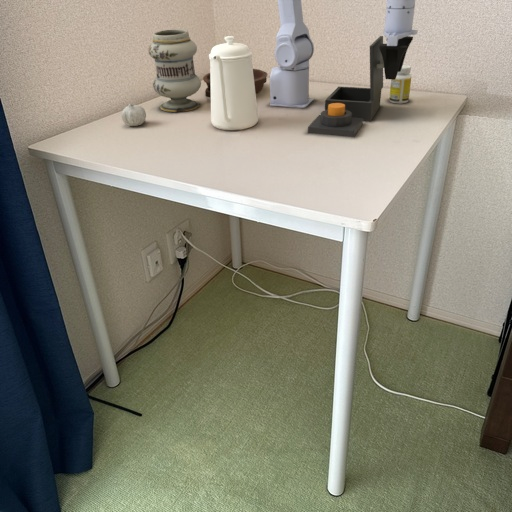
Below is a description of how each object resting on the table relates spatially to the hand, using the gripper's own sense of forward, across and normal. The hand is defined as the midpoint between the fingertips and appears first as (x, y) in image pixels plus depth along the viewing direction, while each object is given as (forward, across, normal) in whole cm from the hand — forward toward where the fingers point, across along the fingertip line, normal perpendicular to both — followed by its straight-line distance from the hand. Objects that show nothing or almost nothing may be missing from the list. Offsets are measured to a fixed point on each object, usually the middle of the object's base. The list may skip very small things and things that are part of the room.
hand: (393, 75), depth 109 cm
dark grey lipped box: (+9, 0, +8) cm, 12 cm away
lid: (-1, 0, +4) cm, 4 cm away
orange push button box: (+9, -13, +10) cm, 18 cm away
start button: (+6, -13, +9) cm, 17 cm away
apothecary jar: (+9, -6, +52) cm, 54 cm away
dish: (+9, +10, +44) cm, 46 cm away
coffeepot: (+9, -16, +32) cm, 37 cm away
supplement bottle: (+9, +12, 0) cm, 15 cm away
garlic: (+9, -22, +56) cm, 60 cm away
